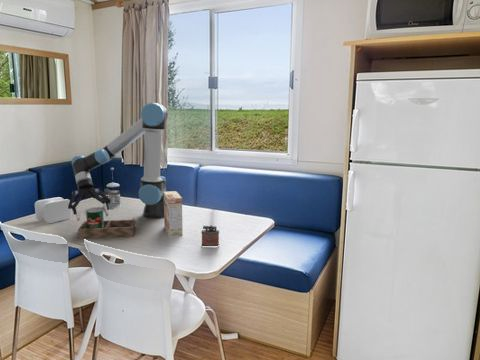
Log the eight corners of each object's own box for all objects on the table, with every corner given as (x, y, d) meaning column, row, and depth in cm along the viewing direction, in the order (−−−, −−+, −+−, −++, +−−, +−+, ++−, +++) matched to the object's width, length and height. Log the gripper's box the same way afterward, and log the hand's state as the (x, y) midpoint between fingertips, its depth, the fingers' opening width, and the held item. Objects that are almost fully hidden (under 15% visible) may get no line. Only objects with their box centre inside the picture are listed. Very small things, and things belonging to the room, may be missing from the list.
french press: (125, 205, 229) (123, 167, 224) (110, 209, 219) (108, 169, 214) (115, 203, 234) (113, 165, 229) (100, 207, 224) (97, 168, 219)
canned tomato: (89, 234, 173) (88, 212, 171) (85, 230, 179) (84, 209, 177) (106, 231, 177) (105, 210, 175) (101, 227, 184) (100, 206, 181)
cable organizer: (44, 225, 189) (42, 204, 187) (35, 221, 195) (33, 200, 193) (72, 219, 200) (70, 198, 198) (63, 215, 207) (61, 195, 204)
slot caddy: (135, 227, 188) (135, 219, 187) (132, 236, 175) (132, 227, 174) (85, 229, 183) (84, 221, 183) (78, 238, 171) (77, 229, 170)
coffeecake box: (163, 227, 190) (163, 191, 186) (177, 226, 192) (176, 190, 188) (168, 236, 176) (167, 198, 172) (183, 235, 178) (182, 197, 174)
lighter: (219, 245, 166) (219, 224, 165) (218, 247, 163) (219, 227, 161) (201, 245, 166) (201, 224, 164) (201, 247, 163) (201, 226, 161)
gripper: (107, 183, 197) (117, 217, 188) (57, 188, 182) (65, 225, 173) (109, 176, 191) (119, 209, 182) (58, 180, 177) (66, 217, 168)
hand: (93, 217), depth 178 cm, fingers open, 13 cm apart
